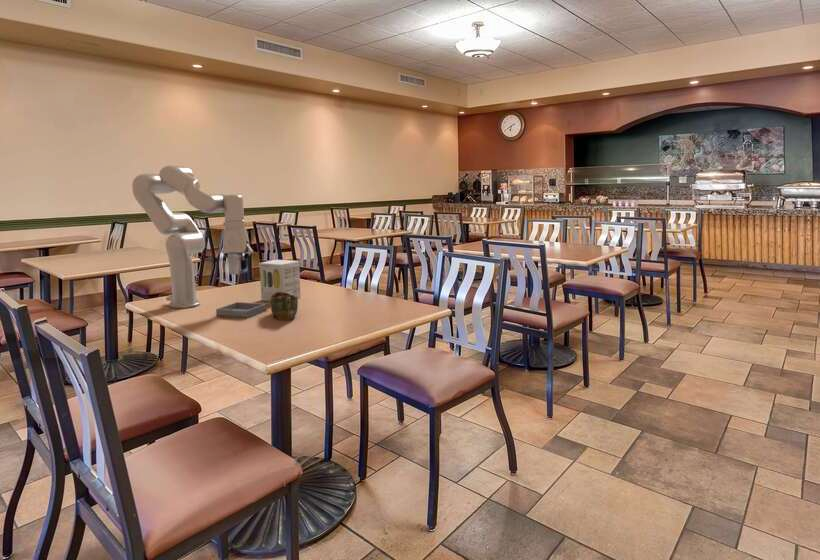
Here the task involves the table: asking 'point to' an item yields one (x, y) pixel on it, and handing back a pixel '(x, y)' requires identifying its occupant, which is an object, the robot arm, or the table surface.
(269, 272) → the supplement box
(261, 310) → the tray
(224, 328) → the table surface
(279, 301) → the cup
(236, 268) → the medicine box
